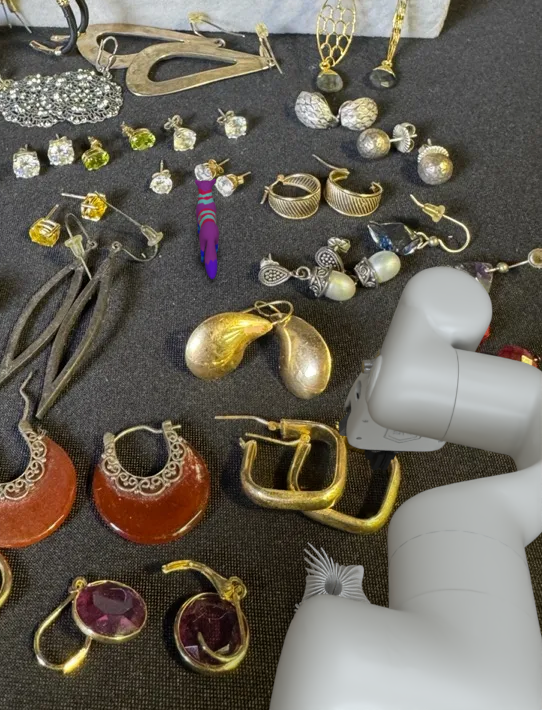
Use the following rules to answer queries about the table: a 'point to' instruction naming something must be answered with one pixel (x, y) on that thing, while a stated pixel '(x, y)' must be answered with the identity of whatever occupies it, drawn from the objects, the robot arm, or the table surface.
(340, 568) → the shell sculpture
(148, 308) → the table surface
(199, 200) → the purple striped elongated piece
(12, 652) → the table surface
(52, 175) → the table surface
